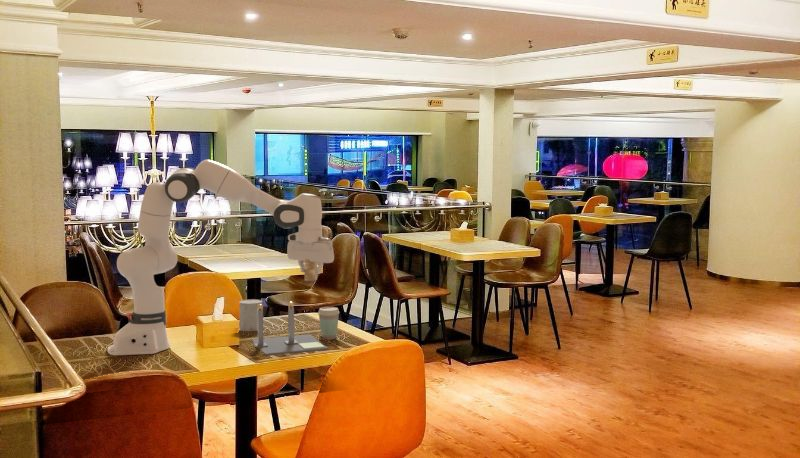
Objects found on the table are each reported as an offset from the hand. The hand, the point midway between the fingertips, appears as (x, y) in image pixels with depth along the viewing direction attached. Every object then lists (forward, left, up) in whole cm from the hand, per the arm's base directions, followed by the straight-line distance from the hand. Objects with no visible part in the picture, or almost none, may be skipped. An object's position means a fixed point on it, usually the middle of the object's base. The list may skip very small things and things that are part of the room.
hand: (310, 272), depth 313 cm
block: (0, 0, -3) cm, 3 cm away
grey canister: (-15, +38, -29) cm, 50 cm away
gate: (-12, +7, -29) cm, 32 cm away
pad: (0, 0, -29) cm, 29 cm away
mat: (-7, +7, -29) cm, 31 cm away
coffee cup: (+11, +13, -29) cm, 34 cm away
